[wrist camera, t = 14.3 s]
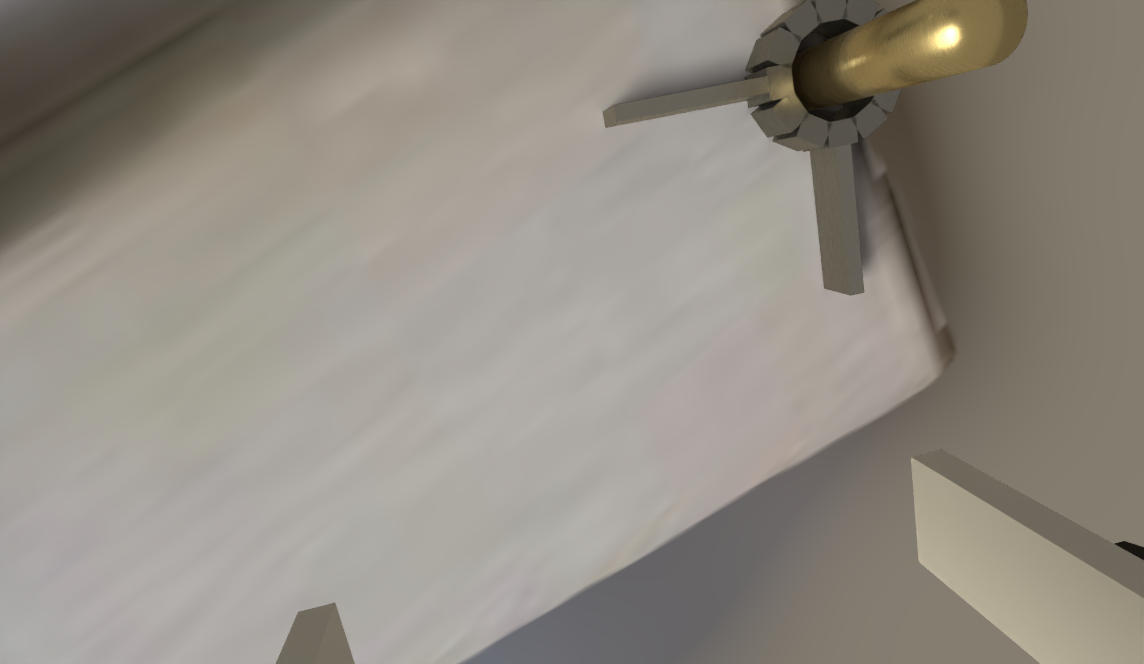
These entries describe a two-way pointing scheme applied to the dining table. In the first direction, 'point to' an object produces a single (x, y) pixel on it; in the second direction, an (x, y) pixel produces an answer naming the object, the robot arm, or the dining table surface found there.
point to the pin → (908, 49)
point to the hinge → (798, 123)
